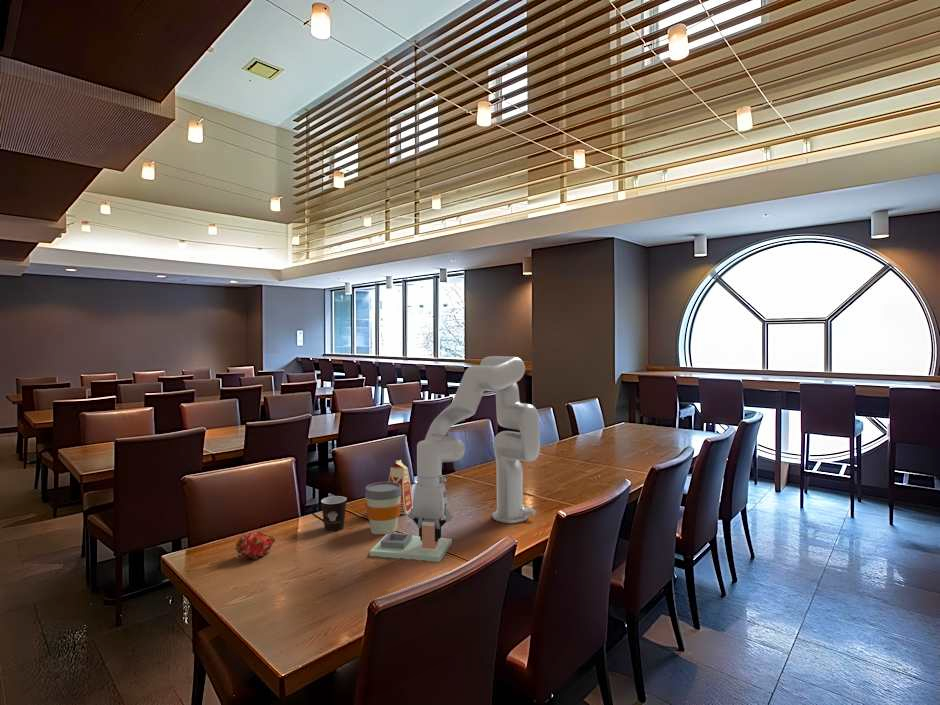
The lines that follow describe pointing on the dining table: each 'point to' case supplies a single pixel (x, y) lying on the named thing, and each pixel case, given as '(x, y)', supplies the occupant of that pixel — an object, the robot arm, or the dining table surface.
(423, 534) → the tan upright block
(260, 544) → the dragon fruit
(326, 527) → the coffee mug
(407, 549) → the board
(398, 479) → the milk carton
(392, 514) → the reusable coffee cup
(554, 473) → the dining table surface
